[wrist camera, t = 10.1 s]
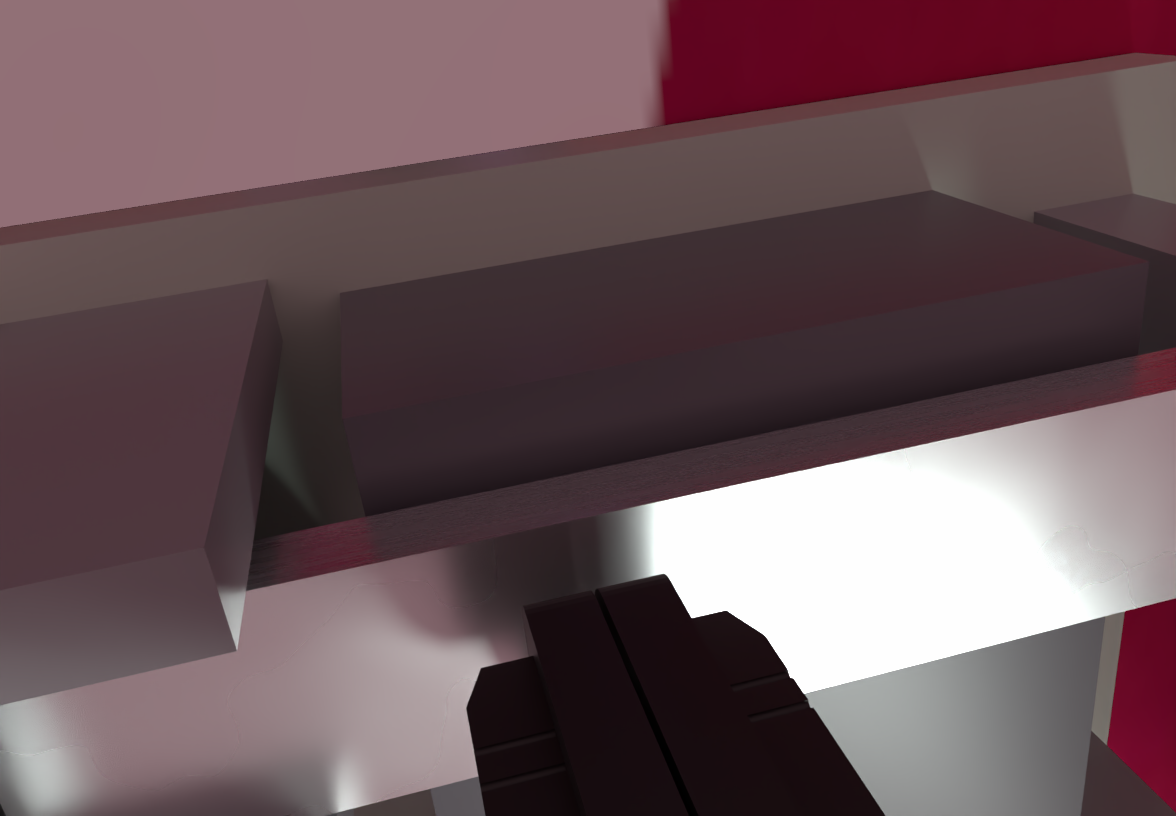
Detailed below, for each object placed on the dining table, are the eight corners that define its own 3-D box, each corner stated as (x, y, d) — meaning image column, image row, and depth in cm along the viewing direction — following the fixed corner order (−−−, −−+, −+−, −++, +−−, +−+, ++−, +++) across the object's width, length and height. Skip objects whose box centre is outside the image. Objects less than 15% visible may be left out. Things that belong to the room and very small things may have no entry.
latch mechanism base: (1135, 53, 18) (1896, 109, 9) (1050, 836, 27) (1415, 1265, 18) (-230, 263, 15) (-1133, 697, 6) (161, 1102, 23) (48, 1824, 14)
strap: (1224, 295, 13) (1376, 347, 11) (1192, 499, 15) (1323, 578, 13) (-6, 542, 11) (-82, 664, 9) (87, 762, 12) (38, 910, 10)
